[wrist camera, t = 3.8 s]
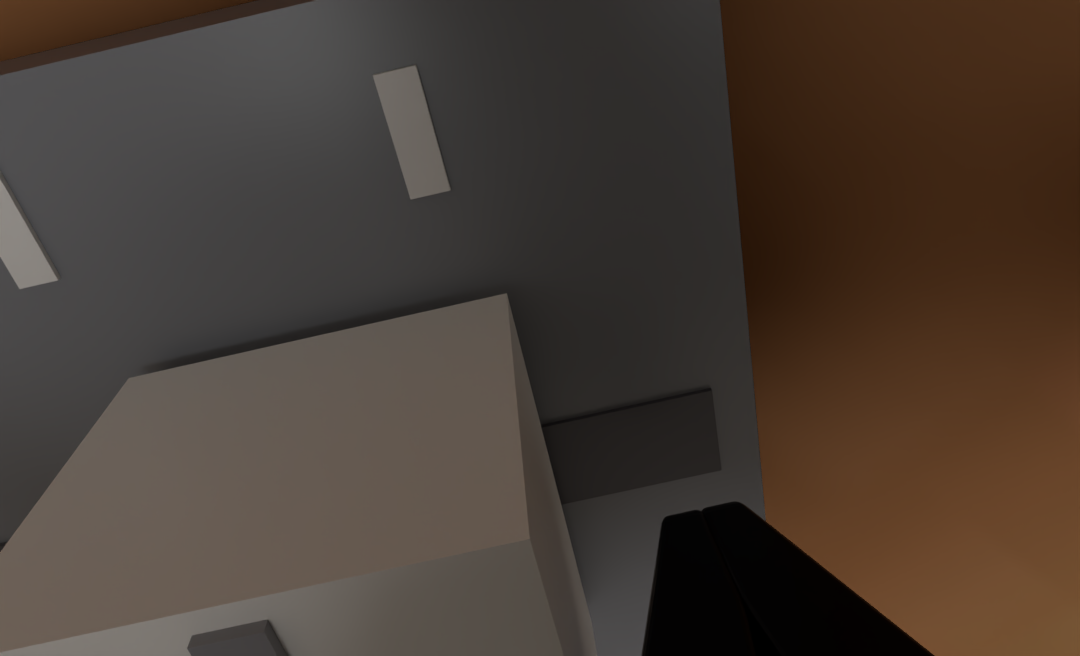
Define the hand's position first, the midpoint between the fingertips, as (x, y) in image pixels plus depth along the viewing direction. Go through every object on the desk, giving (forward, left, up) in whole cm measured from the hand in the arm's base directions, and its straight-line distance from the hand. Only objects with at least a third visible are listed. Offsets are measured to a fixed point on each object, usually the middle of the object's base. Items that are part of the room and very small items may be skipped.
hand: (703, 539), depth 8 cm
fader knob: (+3, 0, -1) cm, 4 cm away
